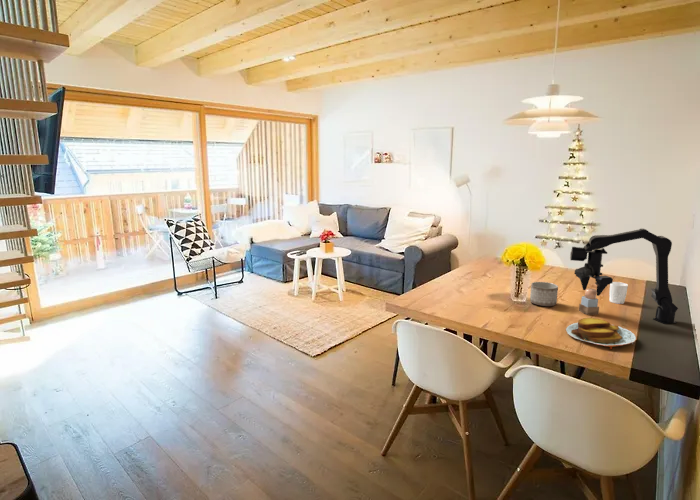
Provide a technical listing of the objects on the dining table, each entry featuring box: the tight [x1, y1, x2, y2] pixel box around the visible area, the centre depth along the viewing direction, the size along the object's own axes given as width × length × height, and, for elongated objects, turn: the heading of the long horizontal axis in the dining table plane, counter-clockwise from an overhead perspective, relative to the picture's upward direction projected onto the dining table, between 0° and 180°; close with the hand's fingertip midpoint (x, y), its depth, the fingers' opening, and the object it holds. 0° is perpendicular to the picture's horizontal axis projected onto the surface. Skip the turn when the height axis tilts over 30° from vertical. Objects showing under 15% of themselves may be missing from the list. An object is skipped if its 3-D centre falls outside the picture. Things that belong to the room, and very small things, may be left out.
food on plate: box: [565, 317, 638, 350], centre depth 166 cm, size 25×25×7 cm
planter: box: [529, 281, 559, 307], centre depth 208 cm, size 13×13×10 cm
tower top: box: [580, 295, 599, 307], centre depth 194 cm, size 5×5×4 cm
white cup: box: [608, 281, 629, 305], centre depth 209 cm, size 8×8×10 cm
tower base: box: [578, 303, 600, 316], centre depth 195 cm, size 6×6×4 cm
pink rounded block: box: [584, 288, 597, 299], centre depth 193 cm, size 5×5×4 cm
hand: (591, 292), depth 193 cm, fingers open, 9 cm apart
